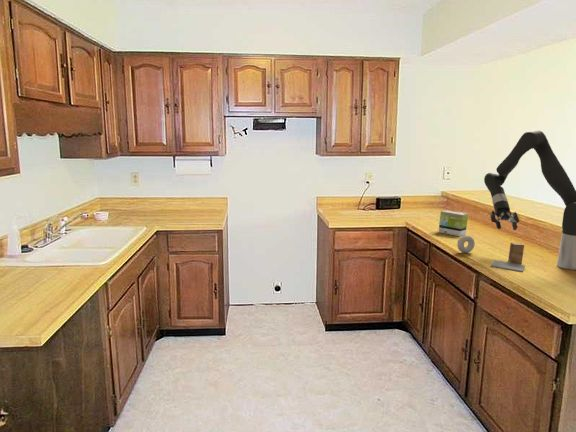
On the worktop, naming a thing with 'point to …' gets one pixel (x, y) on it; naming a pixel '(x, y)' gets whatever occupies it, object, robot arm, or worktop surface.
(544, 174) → the robot arm
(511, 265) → the rubber mat
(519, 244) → the walnut block
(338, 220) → the worktop surface
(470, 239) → the donut
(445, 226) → the tea box
